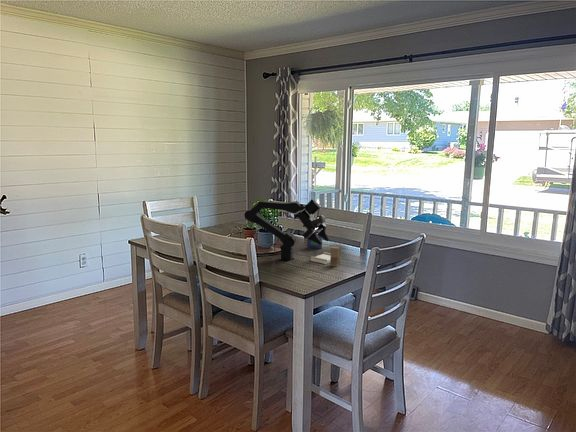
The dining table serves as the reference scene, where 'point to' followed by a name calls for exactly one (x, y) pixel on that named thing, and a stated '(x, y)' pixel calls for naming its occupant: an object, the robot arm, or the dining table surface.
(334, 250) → the walnut block
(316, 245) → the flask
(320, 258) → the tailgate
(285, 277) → the dining table surface
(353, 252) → the dining table surface
